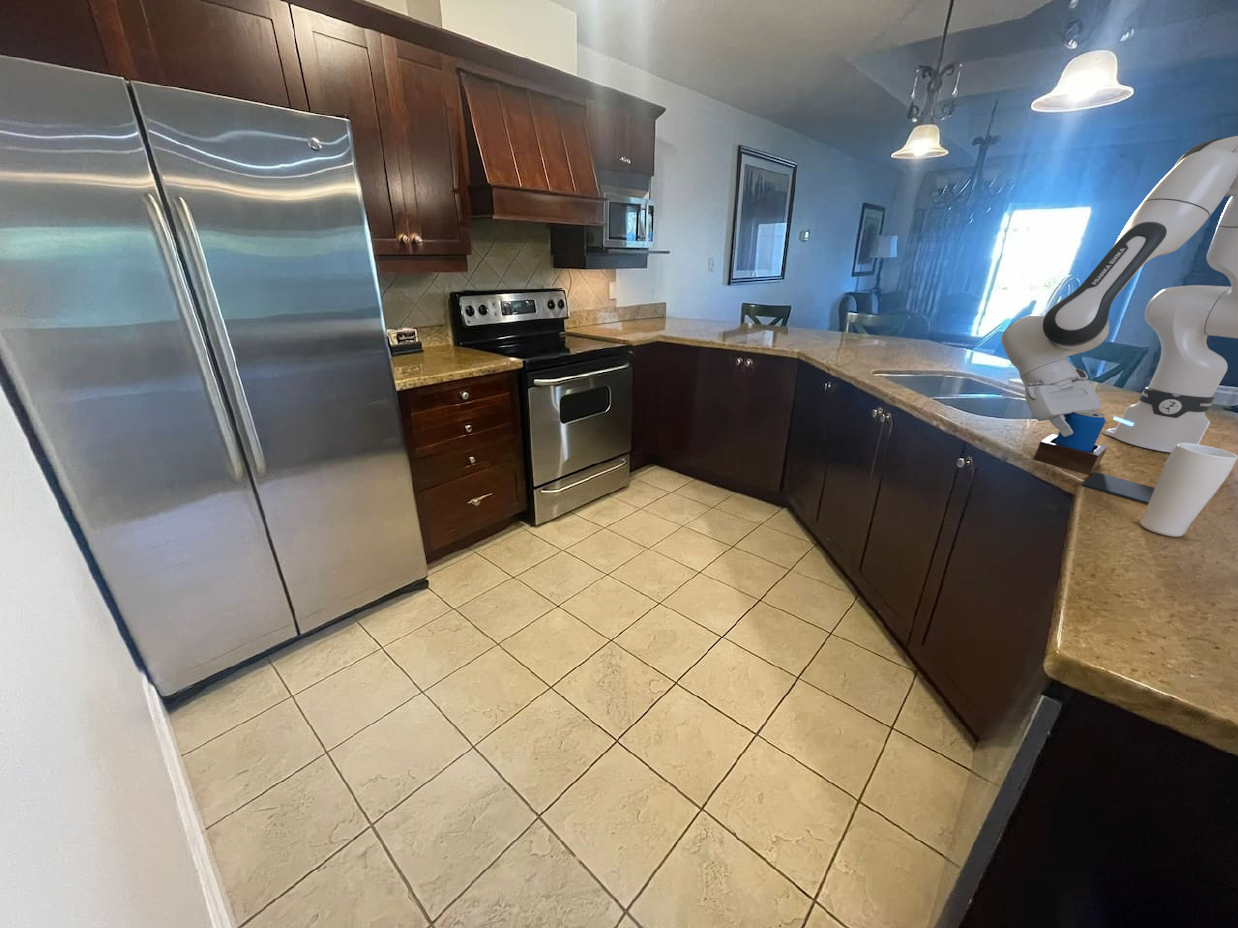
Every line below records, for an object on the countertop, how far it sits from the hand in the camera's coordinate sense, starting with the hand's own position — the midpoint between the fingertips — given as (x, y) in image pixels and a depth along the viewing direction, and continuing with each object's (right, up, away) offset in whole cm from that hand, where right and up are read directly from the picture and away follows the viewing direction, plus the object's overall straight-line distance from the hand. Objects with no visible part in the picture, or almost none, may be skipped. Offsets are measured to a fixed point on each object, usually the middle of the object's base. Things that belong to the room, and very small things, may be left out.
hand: (1082, 433), depth 106 cm
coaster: (-1, -12, -10) cm, 16 cm away
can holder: (0, -6, +3) cm, 7 cm away
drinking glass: (-11, -19, -25) cm, 33 cm away
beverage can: (0, -7, +3) cm, 8 cm away
